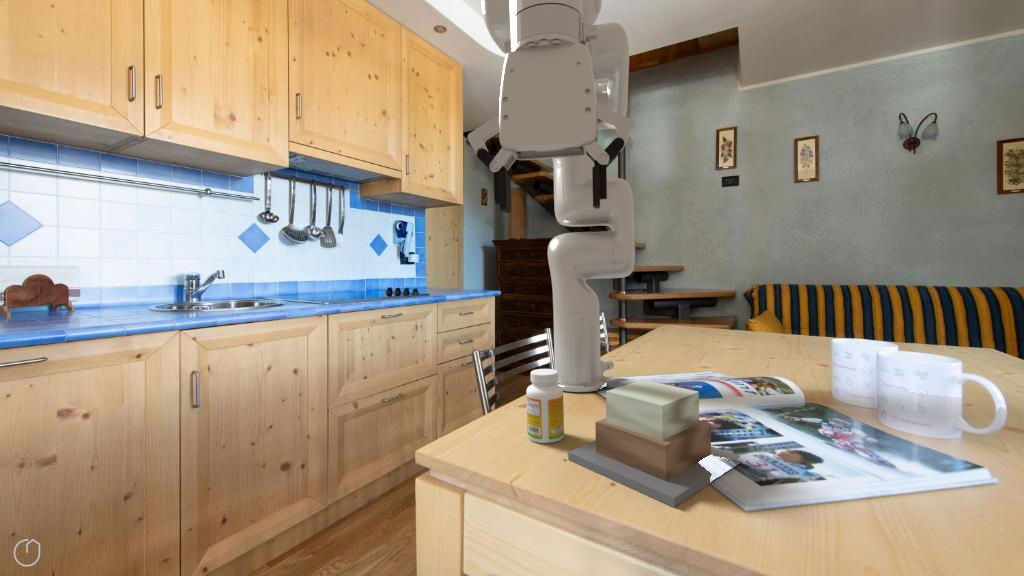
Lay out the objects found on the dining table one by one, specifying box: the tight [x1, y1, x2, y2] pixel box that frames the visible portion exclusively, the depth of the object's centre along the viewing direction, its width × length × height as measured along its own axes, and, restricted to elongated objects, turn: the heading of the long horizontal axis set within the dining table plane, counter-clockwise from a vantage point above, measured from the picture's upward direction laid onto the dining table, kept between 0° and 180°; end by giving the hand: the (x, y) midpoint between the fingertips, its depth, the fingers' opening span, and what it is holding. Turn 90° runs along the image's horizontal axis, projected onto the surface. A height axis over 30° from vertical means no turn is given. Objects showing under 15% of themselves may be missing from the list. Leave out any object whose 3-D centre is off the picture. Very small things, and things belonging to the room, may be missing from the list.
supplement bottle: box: [525, 368, 565, 444], centre depth 64 cm, size 5×5×10 cm
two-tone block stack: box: [594, 379, 712, 481], centre depth 55 cm, size 10×10×8 cm
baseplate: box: [567, 440, 741, 508], centre depth 56 cm, size 15×15×1 cm
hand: (550, 209), depth 46 cm, fingers open, 9 cm apart
